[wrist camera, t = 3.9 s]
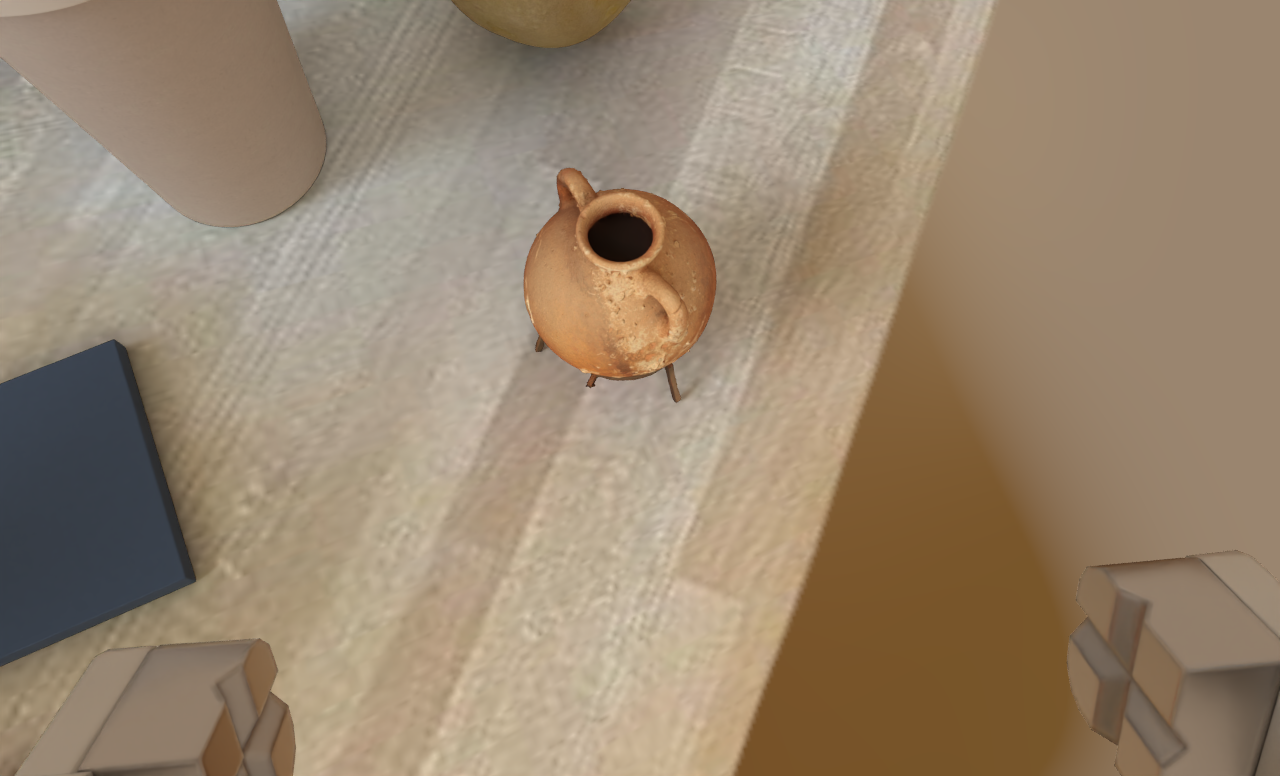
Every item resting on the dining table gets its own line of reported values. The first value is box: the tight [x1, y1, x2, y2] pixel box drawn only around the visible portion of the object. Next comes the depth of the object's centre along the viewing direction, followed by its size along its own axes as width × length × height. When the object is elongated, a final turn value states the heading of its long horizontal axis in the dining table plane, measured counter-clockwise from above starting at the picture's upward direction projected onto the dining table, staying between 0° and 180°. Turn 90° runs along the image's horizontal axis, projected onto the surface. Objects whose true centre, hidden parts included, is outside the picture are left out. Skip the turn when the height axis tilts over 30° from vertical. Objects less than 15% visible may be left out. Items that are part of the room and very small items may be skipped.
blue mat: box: [0, 340, 196, 666], centre depth 31 cm, size 9×10×1 cm
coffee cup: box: [0, 0, 326, 227], centre depth 30 cm, size 10×10×15 cm
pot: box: [524, 168, 716, 403], centre depth 30 cm, size 6×8×6 cm
